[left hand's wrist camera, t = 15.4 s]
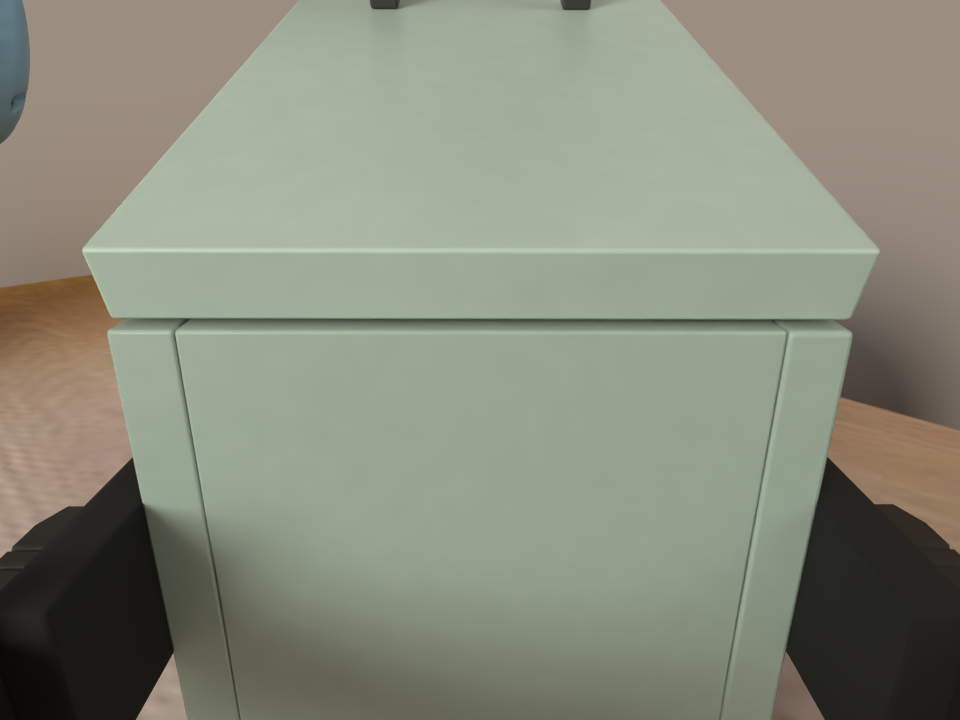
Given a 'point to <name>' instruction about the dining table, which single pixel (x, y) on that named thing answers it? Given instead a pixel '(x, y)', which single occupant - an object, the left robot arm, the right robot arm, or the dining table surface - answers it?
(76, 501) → the dining table surface
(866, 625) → the left robot arm
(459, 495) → the chest
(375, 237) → the lid
